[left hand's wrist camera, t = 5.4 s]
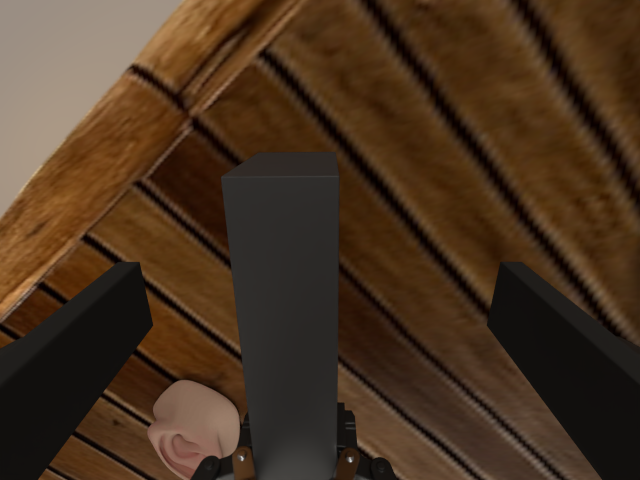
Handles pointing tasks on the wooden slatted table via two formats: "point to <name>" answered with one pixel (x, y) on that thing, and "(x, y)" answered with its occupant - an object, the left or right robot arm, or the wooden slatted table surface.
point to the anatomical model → (193, 426)
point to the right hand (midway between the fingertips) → (301, 411)
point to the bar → (287, 307)
